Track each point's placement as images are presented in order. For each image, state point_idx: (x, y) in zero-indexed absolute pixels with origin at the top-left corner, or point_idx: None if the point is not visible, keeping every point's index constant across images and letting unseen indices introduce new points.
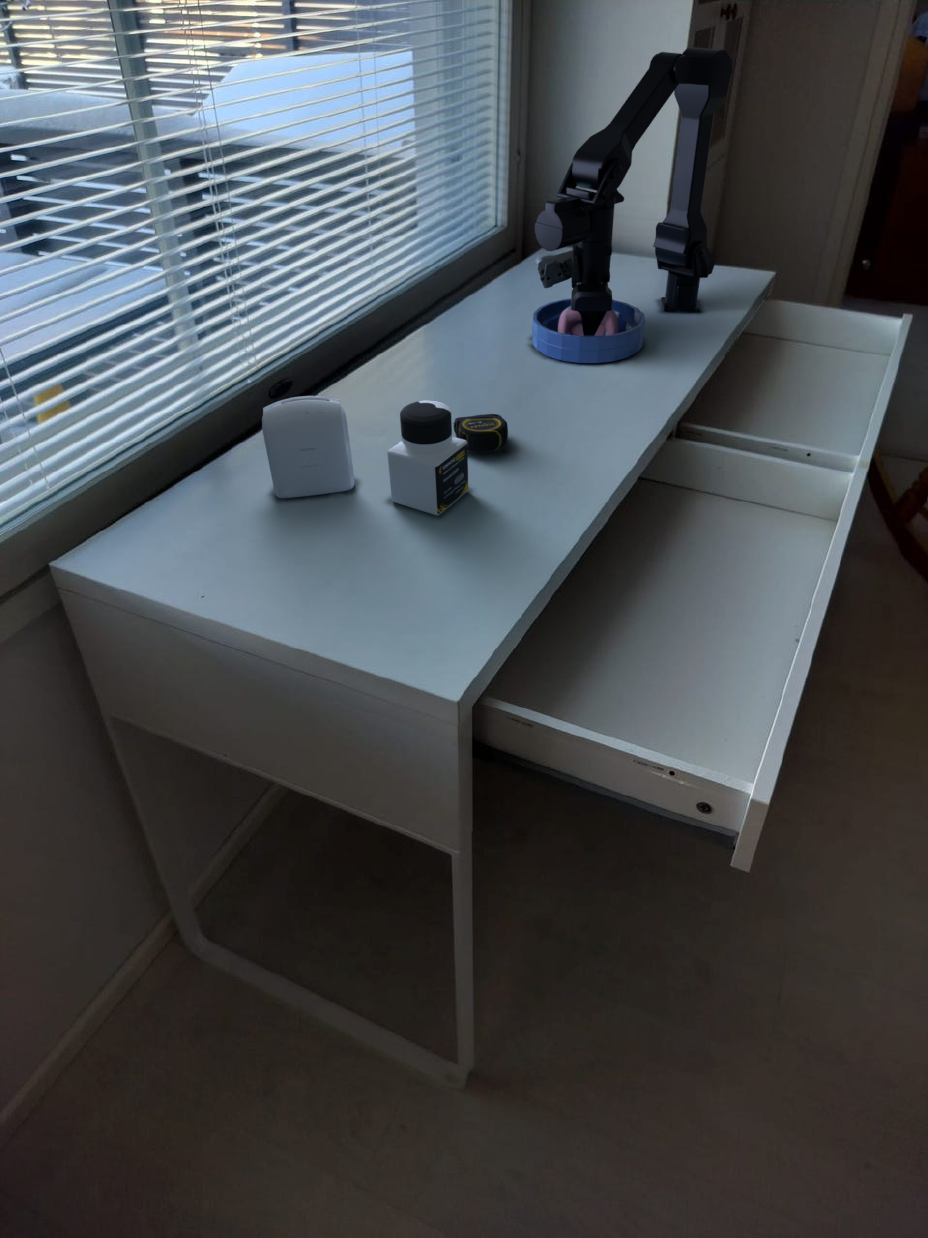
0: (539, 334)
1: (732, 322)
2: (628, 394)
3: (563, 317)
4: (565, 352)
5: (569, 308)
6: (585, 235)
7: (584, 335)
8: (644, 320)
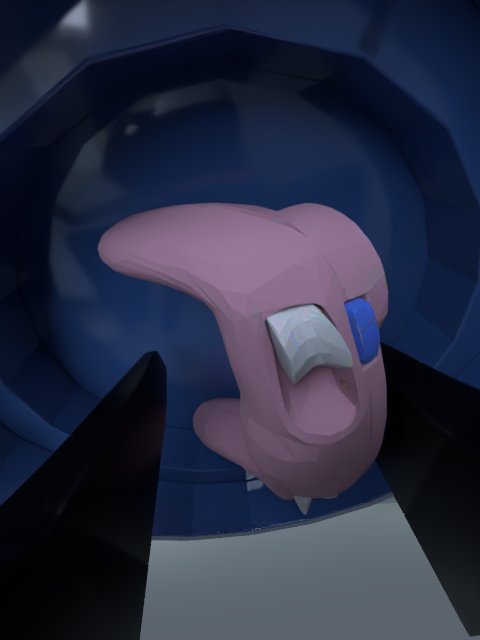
0: None
1: (389, 501)
2: None
3: (200, 278)
4: None
5: (281, 351)
6: None
7: (122, 380)
8: (248, 534)
